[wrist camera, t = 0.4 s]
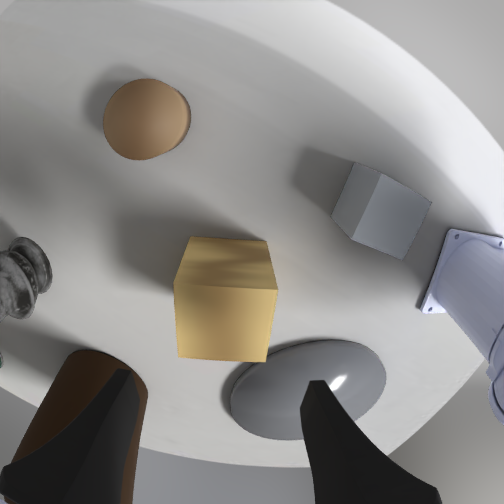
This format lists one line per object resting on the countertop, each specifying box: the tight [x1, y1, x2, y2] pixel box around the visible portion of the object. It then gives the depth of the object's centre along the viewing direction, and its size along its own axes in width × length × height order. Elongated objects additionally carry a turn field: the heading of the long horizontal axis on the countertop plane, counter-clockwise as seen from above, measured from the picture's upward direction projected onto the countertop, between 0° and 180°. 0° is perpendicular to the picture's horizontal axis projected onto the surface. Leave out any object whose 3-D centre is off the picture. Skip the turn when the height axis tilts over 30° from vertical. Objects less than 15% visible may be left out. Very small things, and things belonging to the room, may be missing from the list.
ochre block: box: [173, 236, 278, 362], centre depth 17 cm, size 5×5×6 cm
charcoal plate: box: [231, 340, 386, 440], centre depth 26 cm, size 16×16×1 cm
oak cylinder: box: [103, 79, 191, 160], centre depth 14 cm, size 4×4×3 cm
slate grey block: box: [331, 162, 432, 260], centre depth 17 cm, size 4×4×4 cm
